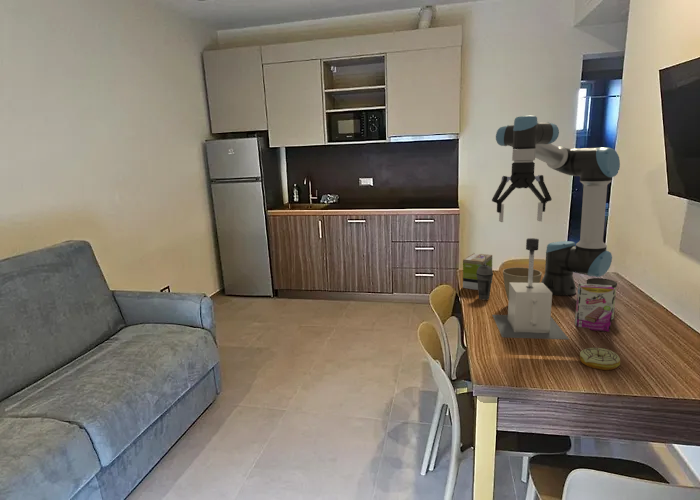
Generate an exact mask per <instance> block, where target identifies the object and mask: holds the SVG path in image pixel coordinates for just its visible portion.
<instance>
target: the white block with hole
mask: <svg viewBox="0 0 700 500" xmlns="http://www.w3.org/2000/svg"><path fill="white" fill-rule="evenodd" d="M552 301H553V294H552V292H551V291H550V290H549V289H548V288H547V287H546V286H545V285H544V283H541V282H540V283H533V284H532V288H528V283H517V282H509V301H508V306H507V307H508V308H507V315H508V321H509V323H510V325H511V327H512V329H513V331H514V332H531V333H550V319H551V317H552Z"/></svg>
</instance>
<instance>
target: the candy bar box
mask: <svg viewBox="0 0 700 500" xmlns="http://www.w3.org/2000/svg"><path fill="white" fill-rule="evenodd" d="M576 293H577V295H576V304H575V305H576V306H575V315H574V324H575V327H578V328H586V329H589V330H590V331H597V332H607V333H608V332H611V325H612V320H611V318H612V309H613V301H614V293H615V289H614V288H613V286H612V285H598V284H587V283H584V282H583V283H581V282H578V285H577V291H576Z"/></svg>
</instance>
